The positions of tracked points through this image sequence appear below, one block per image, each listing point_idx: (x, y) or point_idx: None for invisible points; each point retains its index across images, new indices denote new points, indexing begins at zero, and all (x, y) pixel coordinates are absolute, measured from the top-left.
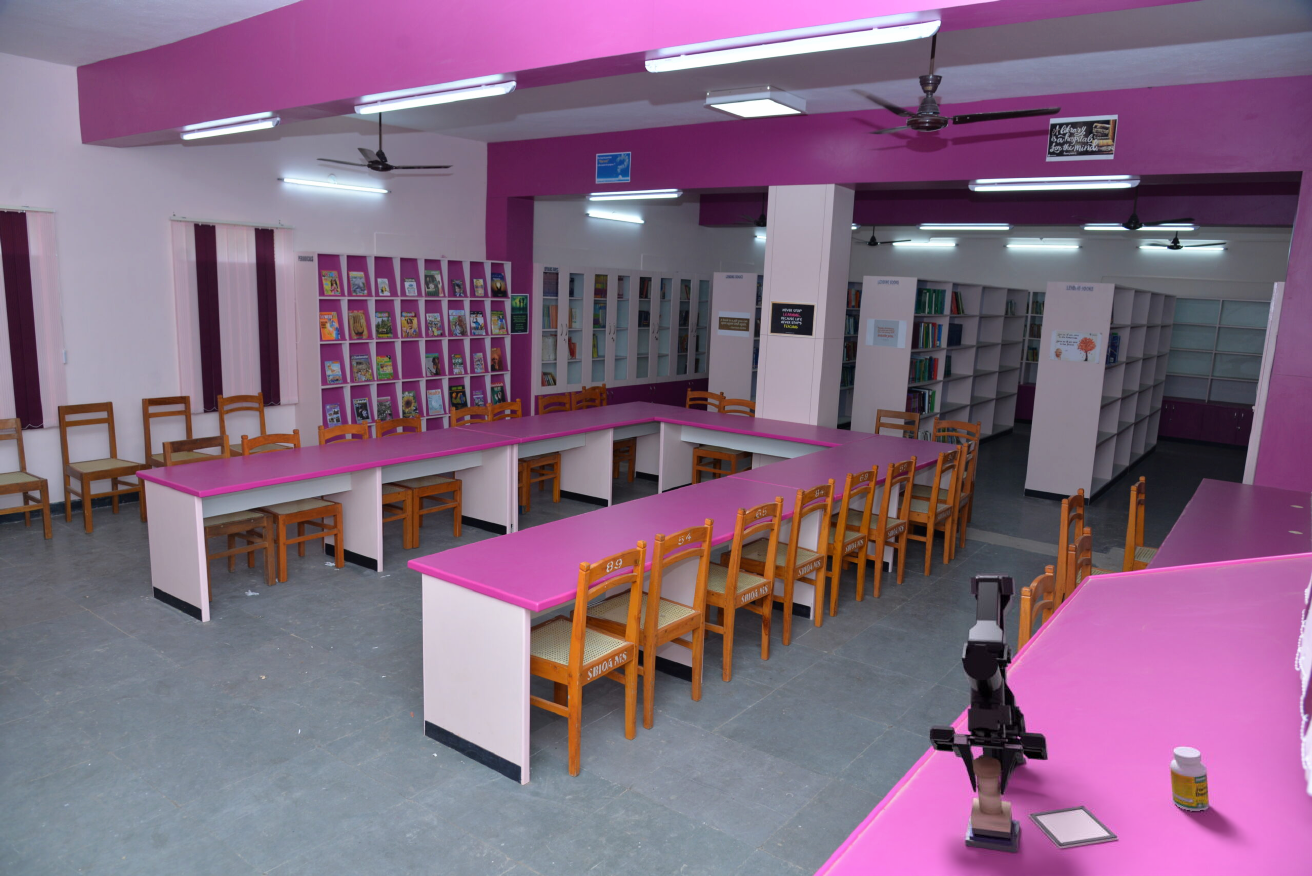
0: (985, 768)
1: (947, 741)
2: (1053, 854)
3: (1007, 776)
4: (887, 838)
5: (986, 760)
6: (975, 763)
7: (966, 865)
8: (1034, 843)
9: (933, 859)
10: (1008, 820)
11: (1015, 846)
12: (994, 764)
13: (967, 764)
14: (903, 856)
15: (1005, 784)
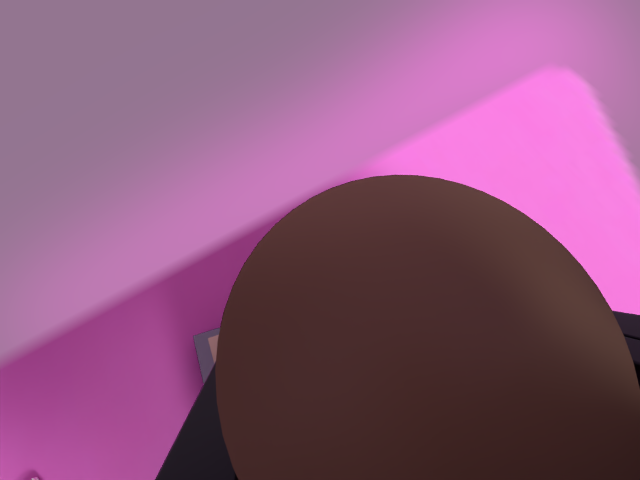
0: (363, 200)
1: None
2: (60, 415)
3: (170, 453)
4: (576, 197)
5: (480, 438)
6: (538, 261)
7: (317, 192)
8: (151, 453)
9: (410, 172)
10: (212, 345)
11: (197, 338)
12: (308, 372)
13: (631, 325)
14: (481, 147)
15: (199, 393)
